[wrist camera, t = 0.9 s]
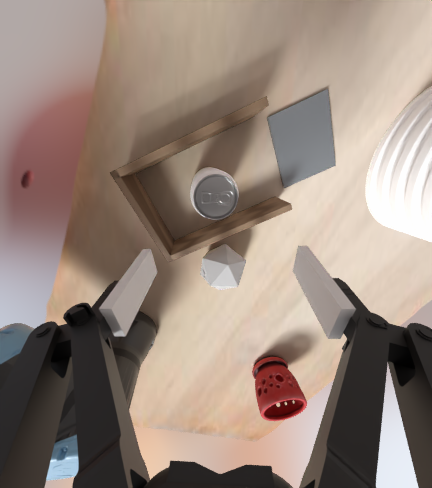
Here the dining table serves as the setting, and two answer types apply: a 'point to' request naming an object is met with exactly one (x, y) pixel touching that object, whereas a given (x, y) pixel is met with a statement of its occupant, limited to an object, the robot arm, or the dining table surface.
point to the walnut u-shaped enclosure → (207, 234)
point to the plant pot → (277, 390)
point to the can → (214, 193)
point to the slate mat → (303, 138)
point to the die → (222, 267)
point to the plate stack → (404, 171)
